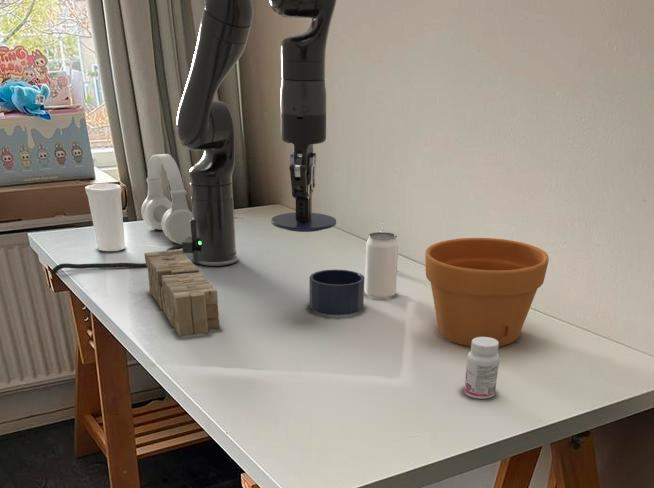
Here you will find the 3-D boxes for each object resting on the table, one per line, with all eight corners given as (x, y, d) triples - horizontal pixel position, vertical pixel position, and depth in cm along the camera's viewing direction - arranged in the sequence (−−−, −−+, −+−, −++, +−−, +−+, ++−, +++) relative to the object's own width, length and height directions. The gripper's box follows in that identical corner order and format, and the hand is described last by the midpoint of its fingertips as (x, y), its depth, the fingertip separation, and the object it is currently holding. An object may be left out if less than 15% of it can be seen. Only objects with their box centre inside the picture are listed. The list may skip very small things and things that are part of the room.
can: (399, 292, 162) (402, 233, 156) (390, 301, 157) (393, 240, 150) (370, 288, 164) (372, 230, 157) (360, 297, 158) (362, 237, 152)
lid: (265, 232, 132) (264, 195, 129) (277, 217, 142) (277, 181, 139) (331, 236, 131) (332, 198, 128) (339, 220, 141) (340, 185, 138)
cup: (136, 248, 187) (128, 186, 180) (110, 255, 181) (102, 191, 174) (112, 243, 191) (104, 181, 183) (86, 250, 185) (77, 187, 177)
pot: (306, 316, 148) (306, 284, 145) (313, 299, 157) (313, 268, 154) (360, 319, 147) (361, 286, 144) (365, 301, 156) (366, 270, 153)
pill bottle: (460, 386, 121) (466, 335, 117) (490, 386, 122) (497, 335, 117) (467, 400, 117) (473, 347, 113) (498, 399, 118) (505, 346, 113)
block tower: (222, 338, 140) (186, 286, 162) (219, 293, 135) (183, 246, 157) (178, 343, 137) (148, 290, 159) (174, 297, 132) (143, 249, 155)
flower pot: (462, 363, 129) (471, 275, 122) (398, 324, 145) (402, 244, 138) (560, 344, 138) (575, 260, 130) (490, 308, 154) (499, 232, 146)
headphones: (200, 242, 193) (194, 159, 182) (168, 246, 189) (159, 162, 179) (172, 225, 207) (165, 147, 197) (142, 229, 203) (132, 149, 193)
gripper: (288, 104, 133) (289, 209, 142) (272, 114, 121) (275, 227, 130) (331, 106, 132) (330, 211, 141) (320, 116, 121) (319, 230, 130)
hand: (303, 218), depth 136 cm, fingers closed on lid, 2 cm apart
